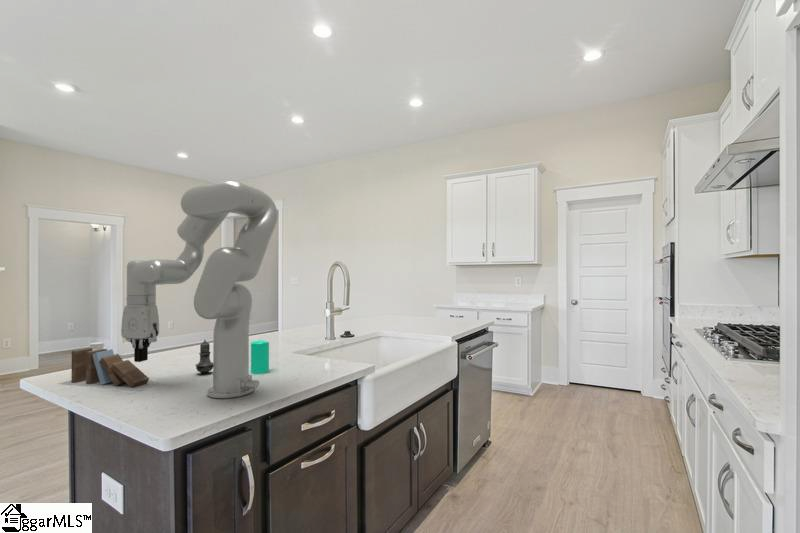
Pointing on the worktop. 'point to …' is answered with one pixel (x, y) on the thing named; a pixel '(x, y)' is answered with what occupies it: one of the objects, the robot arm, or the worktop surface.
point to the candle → (259, 357)
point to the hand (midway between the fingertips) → (141, 360)
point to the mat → (112, 385)
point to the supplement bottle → (97, 345)
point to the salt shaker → (204, 360)
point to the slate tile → (101, 371)
